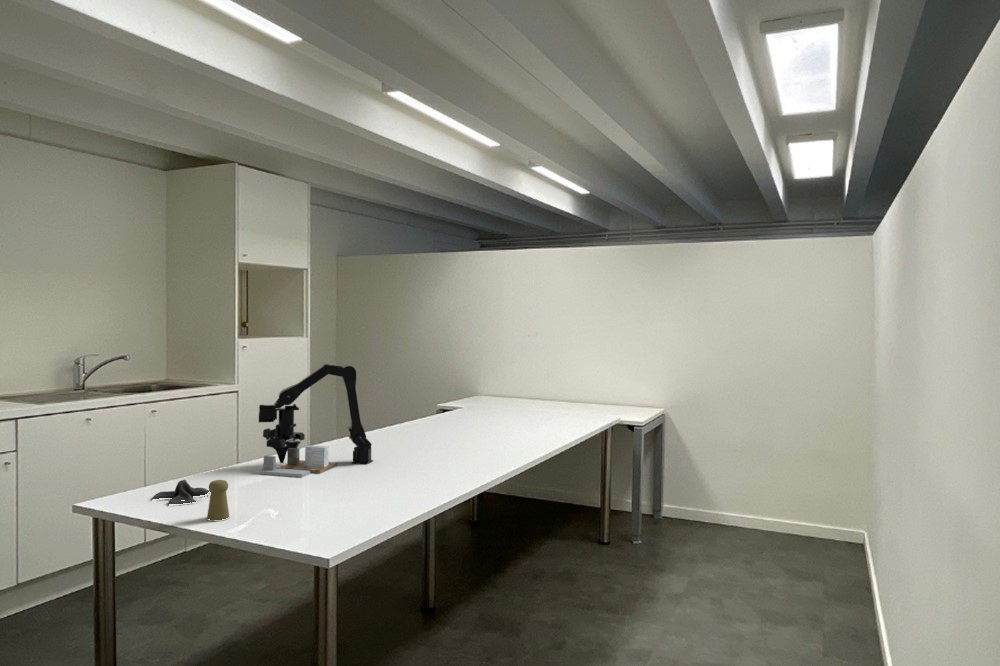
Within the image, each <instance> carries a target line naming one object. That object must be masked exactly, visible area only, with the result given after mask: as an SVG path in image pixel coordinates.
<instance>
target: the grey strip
mask: <svg viewBox="0 0 1000 666" xmlns="http://www.w3.org/2000/svg"><path fill="white" fill-rule="evenodd" d="M276 457H277V456H276V455H264V456H263V468H262V470H260V472H259V474H260V475H263V474H267V475H266V476H276V475H280V476H279V477H289V476H291V478H292V477H293V478H304V477H306V475H307V476H309V475H310V474H311V473H310V471H307V470H294V469H280V468H279V467H276V460H277V459H276Z"/></svg>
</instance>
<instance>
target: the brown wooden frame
mask: <svg viewBox="0 0 1000 666" xmlns="http://www.w3.org/2000/svg"><path fill="white" fill-rule="evenodd" d="M300 450H301V449H300V448H298V447H297V448H288V452H286V456H287V458H286V459H287V460H286V461H287V464H284V465H282V466H279V467H278V468H280V469H294V470H307V471H310V474H318V473H319V474H323V473H325V472H327V471H329V470H331V469H334V468H336V467H337V466H338V462H329V461H328V466H326V467H321V468H319V469H312V468H306V467H305V459H304V460H303V459H301V460H300ZM335 466H336V467H335Z"/></svg>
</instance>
